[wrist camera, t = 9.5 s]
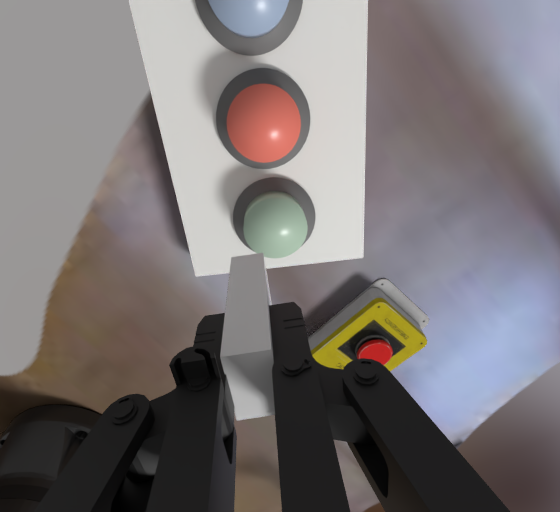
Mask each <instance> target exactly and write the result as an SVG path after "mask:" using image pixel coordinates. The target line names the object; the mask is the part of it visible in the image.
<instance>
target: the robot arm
mask: <svg viewBox="0 0 560 512" xmlns="http://www.w3.org/2000/svg"><path fill="white" fill-rule="evenodd" d="M169 366H170V368H171V371H172V374H173V377H174V379H175V382H176V385H177V386H176V389H174V390H173V391H171V392H170V393H168V394H166V395H163V396H161V397H159V398H156V399H154V400H151V401H149V400H148V399H147V398H146V397H145V396H144V395H140V394H131V395H127V396H125V397H122V398H120V399H118V400H117V401H115V402H114V403H112V404H111V405H110V406H109V407H108V408H107V409H106V410H105V411H104V413H103V414H102V415H99V414H97V413H95V412H92V411H89V410H86V409H83V408H79V407H74V406H67V405H46V406H39V407H35V408H32V409H29V410H26V411H24V412H22V413H21V414H19V415H18V416H17V417H15V418H14V419H13V421H12V422H11V423H10V425H9V426H8V427H7V429H6V430H5V432H4V433H3V434H2V436H1V438H0V512H234V497H235V468H236V440H237V436H236V430H235V427H234V412H235V415H236V419H237V420H244V419H250V418H257V417H263V416H270V415H275V421H276V434H277V448H278V461H279V475H280V488H281V502H282V512H350V508H349V504H348V500H347V496H346V491H345V487H344V483H343V479H342V474H341V470H340V466H339V462H338V458H337V453H336V449H335V445H334V441H333V439H334V440H340V441H346V442H347V443H348V445H349V447H350V449H351V451H352V452H353V454H354V456H355V458H356V460H357V461H358V463H359V465H360V467H361V469H362V470H363V472H364V474H365V476H366V478H367V479H368V481H369V483H370V485H371V487H372V489H373V490H374V492H375V494H376V496H377V498H378V499H379V501H380V503H381V505H382V507H383V508H384V510H385V512H510V511H509V510H508V508H507V507H506V506H505V505H504V504H503V503H502V502H501V500H500V499H499V498H498V497H497V496H496V495H495V493H494V492H493V491H492V490H491V489H490V488H489V486H488V485H487V484H486V483H485V482H484V480H483V479H482V478H481V477H480V476H479V475H478V473H477V472H476V471H475V470H474V469H473V468H472V467H471V465H470V464H469V463H468V462H467V461H466V460H465V458H464V457H463V456H462V455H461V454H460V453H459V451H458V450H457V449H456V448H455V447H454V446H453V444H452V443H451V442H450V441H449V440H448V439H447V437H446V436H445V435H444V434H443V433H442V432H441V430H440V429H439V428H438V427H437V426H436V425H435V424H434V422H433V421H432V420H431V419H430V418H429V417H428V415H427V414H426V413H425V412H424V411H423V410H422V408H421V407H420V406H419V405H418V404H417V403H416V401H415V400H414V399H413V398H412V397H411V396H410V394H409V393H408V392H407V391H406V390H405V389H404V387H403V386H402V385H401V384H400V383H399V382H398V380H397V379H396V378H395V377H394V376H393V375H392V374H391V372H390V371H389V370H388V369H387V368H386V367H385V366H384V365H383V364H381V363H380V362H378V361H375V360H373V359H366V358H361V359H355V360H353V361H351V362H349V363H347V365H346V366H345V367H344V369H336V368H330V367H326V366H324V365H321V364H320V363H318V362H317V361H316V360H315V359H314V358H313V356H312V354H311V350H310V346H309V342H308V337H307V333H306V329H305V324H304V320H303V316H302V311H301V308H300V307H299V306H298V305H297V304H295V303H294V302H290V303H283V304H276V305H271V297H270V291H269V285H268V279H267V272H266V266H265V260H264V254H263V253H257V254H250V255H243V256H236V257H231V264H230V273H229V282H228V291H227V300H226V309H225V313H222V314H215V315H208V316H205V317H204V318H203V319H202V320H201V322H200V323H199V324H198V327H197V331H196V336H195V340H194V345H193V347H189V348H186V349H185V350H183V351H181V352H179V353H178V354H177V355H176V356H175V357H174V358H173V359H172V361H171V363H170V364H169Z"/></svg>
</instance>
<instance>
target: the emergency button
mask: <svg viewBox="0 0 560 512" xmlns="http://www.w3.org/2000/svg"><path fill="white" fill-rule="evenodd" d="M428 322H429V318H428V316H427V315H426V314H425V313H424V312H423V311H422V310H421V309H419V308H418V307H417V306H416V305H415V304H414V303H413V302H412V301H411V300H410V299H409V298H408V297H406V296H405V295H404V294H403V293H402V292H401V291H400V290H399V289H398V288H397V287H396V286H395V285H393V284H392V283H391V282H390V281H389V280H387V279H385V278H384V279H379V280H377V281H376V282H374V283H373V284H372V285H371V286H370V287H368V288H367V289H366V290H365V291H364V292H362V293H361V294H360V295H359V296H358V297H356V298H355V299H354V300H353V301H352V302H351V303H349V304H348V305H347V306H346V307H345V308H343V309H342V310H341V311H340V312H339V313H337V314H336V315H335V316H334V317H333V318H331V319H330V320H329V321H328V322H327V323H326V324H324V325H323V326H322V327H321V328H320V329H318V330H317V331H316V332H315V333H314V334H312V335H311V336H310V337H309V338H308V342H309V346H310V350H311V354H312V356H313V358H314V359H315V360H316V361H317V362H318V363H320V364H321V365H324V366H326V367H330V368H336V369H344V367H345V366H346V365H347V363H349V362H351V361H353V360H355V359H361V358H366V359H373V360H375V361H378V362H380V363H381V364H383V365H384V366H385V367H386V368H387V369H388V370H389V371H392V370H393V369H394V368H396V367H397V366H399V365H400V364H401V363H403V362H404V361H405V360H407V359H408V358H410V357H411V356H412V355H414V354H415V353H417V352H418V351H419V350H421V349H422V348H423V347H425V346H426V344H427V339H426V337H425V335H424V334H423V332H422V330H421V329H423V328H424V327H425V326H426V325H427V324H428Z"/></svg>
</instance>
